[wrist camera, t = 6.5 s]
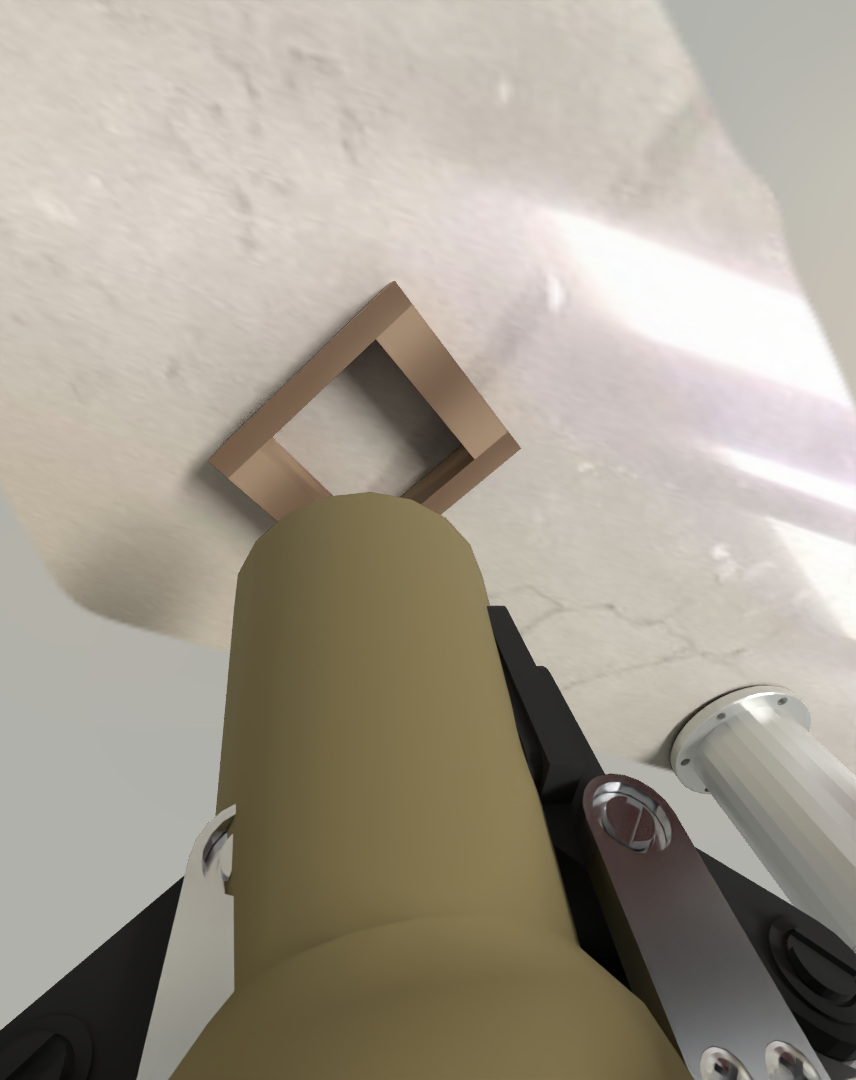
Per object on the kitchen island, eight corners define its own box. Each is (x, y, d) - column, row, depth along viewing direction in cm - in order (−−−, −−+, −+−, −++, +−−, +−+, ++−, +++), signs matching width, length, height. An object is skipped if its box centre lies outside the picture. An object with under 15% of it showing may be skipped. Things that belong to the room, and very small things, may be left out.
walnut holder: (504, 434, 28) (521, 448, 25) (352, 561, 30) (353, 587, 27) (389, 283, 23) (394, 280, 21) (222, 444, 26) (207, 461, 23)
